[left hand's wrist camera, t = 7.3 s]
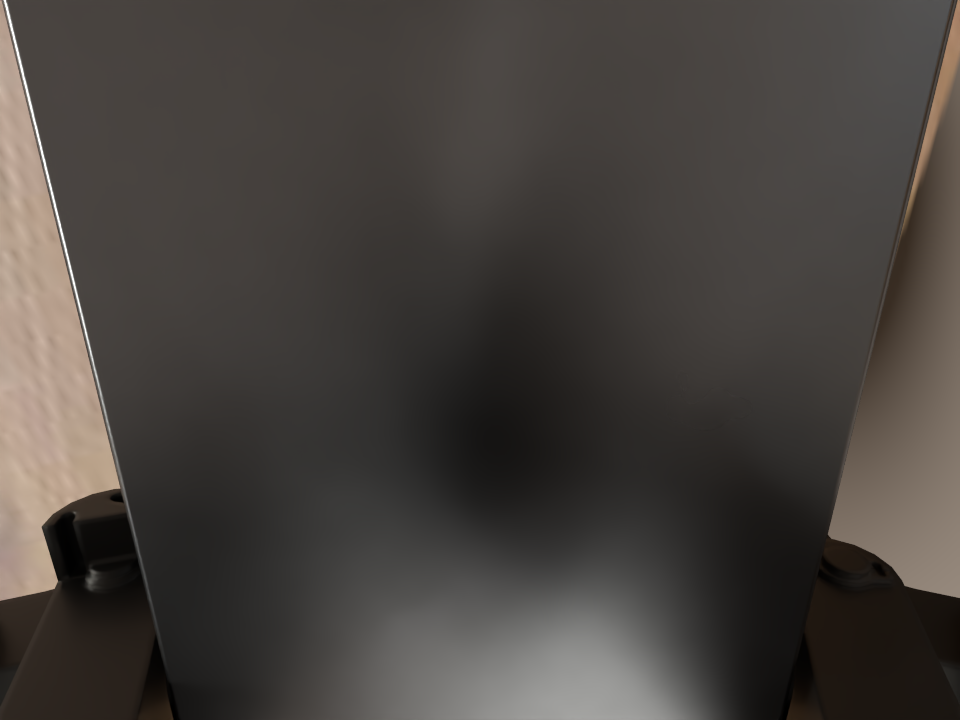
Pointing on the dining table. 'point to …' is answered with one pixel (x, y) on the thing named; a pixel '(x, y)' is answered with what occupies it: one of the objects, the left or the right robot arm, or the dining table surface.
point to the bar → (479, 333)
